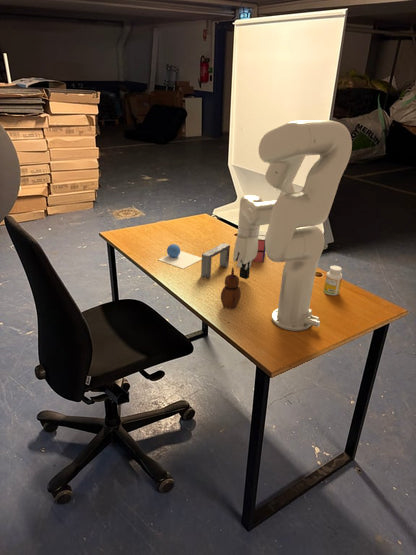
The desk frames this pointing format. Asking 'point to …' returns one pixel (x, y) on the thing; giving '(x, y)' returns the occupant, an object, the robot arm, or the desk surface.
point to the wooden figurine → (231, 291)
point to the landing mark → (181, 260)
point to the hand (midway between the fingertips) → (244, 277)
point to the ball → (173, 250)
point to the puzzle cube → (260, 247)
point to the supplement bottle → (333, 280)
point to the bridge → (208, 255)
